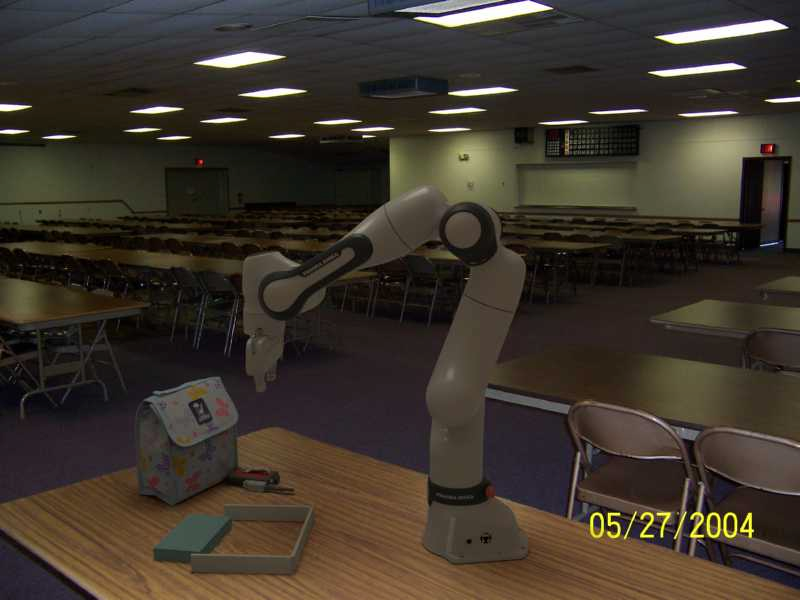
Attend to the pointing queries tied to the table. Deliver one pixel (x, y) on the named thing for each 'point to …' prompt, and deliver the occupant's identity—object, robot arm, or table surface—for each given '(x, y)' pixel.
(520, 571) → the table surface
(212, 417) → the lunch bag
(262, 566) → the grey u-shaped frame
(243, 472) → the walkie-talkie
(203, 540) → the cover plate
